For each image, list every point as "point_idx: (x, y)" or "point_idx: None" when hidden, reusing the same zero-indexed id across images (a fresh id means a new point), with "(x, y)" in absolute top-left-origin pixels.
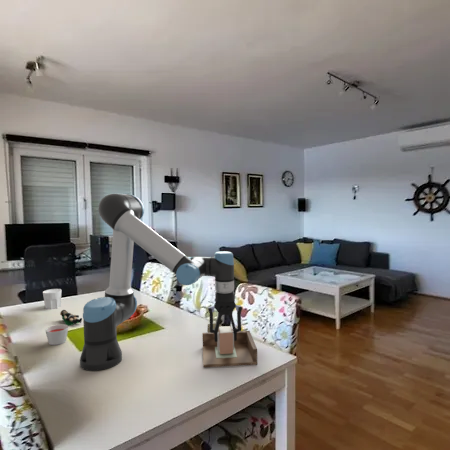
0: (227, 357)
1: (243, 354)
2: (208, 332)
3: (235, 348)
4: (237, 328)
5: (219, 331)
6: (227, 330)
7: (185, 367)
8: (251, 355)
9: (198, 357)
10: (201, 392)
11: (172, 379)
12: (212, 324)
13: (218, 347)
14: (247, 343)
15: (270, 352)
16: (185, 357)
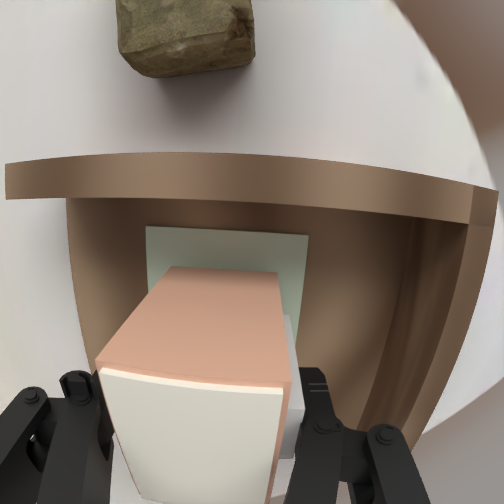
0: None
1: (337, 367)
2: (46, 160)
3: (309, 273)
4: (349, 476)
5: (129, 466)
6: (218, 488)
7: (41, 382)
8: (370, 406)
9: (65, 311)
10: (136, 499)
11: None
12: (33, 497)
13: None
14: (416, 254)
15: (484, 314)
16: (13, 294)
